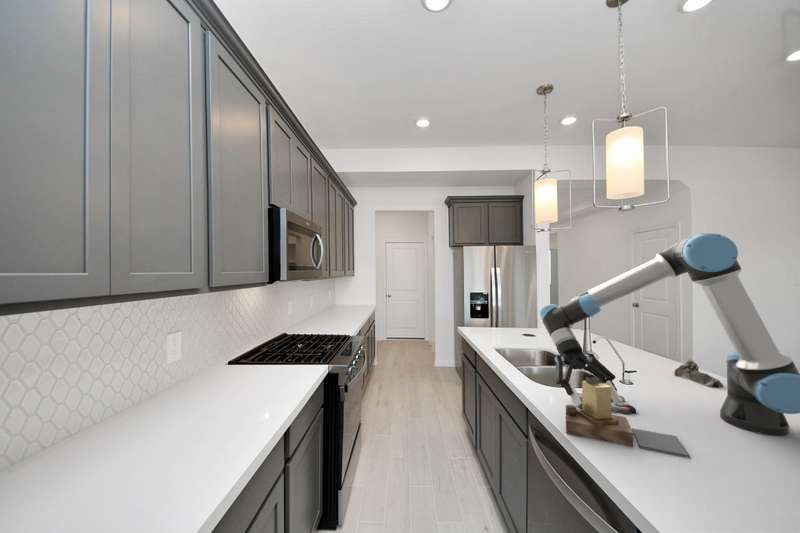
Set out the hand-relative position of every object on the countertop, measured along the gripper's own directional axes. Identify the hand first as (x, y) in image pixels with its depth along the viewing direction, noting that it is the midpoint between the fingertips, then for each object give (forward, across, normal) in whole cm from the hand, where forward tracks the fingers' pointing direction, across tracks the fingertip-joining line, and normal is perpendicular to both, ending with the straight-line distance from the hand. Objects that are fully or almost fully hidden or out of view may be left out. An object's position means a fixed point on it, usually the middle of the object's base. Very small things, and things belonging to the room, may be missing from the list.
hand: (598, 403), depth 99 cm
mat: (+12, -13, -1) cm, 18 cm away
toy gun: (-6, -17, -20) cm, 28 cm away
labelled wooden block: (+3, 0, -5) cm, 5 cm away
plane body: (+6, 0, -7) cm, 9 cm away
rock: (-18, -80, -32) cm, 88 cm away
